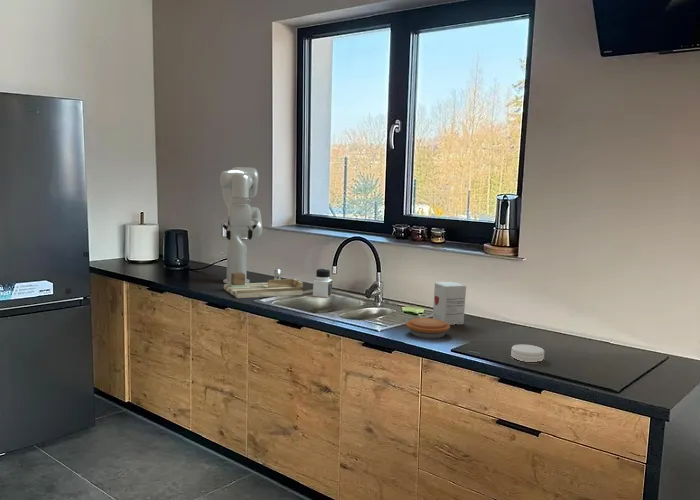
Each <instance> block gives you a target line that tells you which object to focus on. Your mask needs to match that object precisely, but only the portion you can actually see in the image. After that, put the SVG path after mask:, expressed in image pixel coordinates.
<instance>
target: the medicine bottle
mask: <svg viewBox="0 0 700 500" xmlns="http://www.w3.org/2000/svg"><path fill="white" fill-rule="evenodd" d="M315 273H316V276H315V279H314V280H313V282H312V296H313V297H320V298H329V297H331V296H332V294H333V279H332V278H330V277H331V270H330V269H328V268H318V269H316V272H315Z"/></svg>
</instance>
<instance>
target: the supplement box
mask: <svg viewBox="0 0 700 500" xmlns="http://www.w3.org/2000/svg"><path fill="white" fill-rule="evenodd" d="M433 290H434V293H433V310H432V319H438V320H442V321H444V322H445V323H447V324H449V325H450V326H452V325H453V326H455V324H457V325H464V321H465V311H466V310H465V308H466V307H465V306H466V294H467V286H466V285H463V284H461V283H458V282H455V281H436V282H434V289H433Z"/></svg>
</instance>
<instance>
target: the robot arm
mask: <svg viewBox="0 0 700 500" xmlns="http://www.w3.org/2000/svg"><path fill="white" fill-rule="evenodd" d="M219 178H220V179H219V180H220V186H221V188H222V189H221V190H222V191H221V192H222V197H223V201H224V203H225V206H226V207H227V217H225V218H224V219H221V220H220V224H221V226H222V228H223V229H224V230H225V237H226V278H225V279H223V281H222V282H223V283H224V284H228V283H231V273H241V272H242V273H244V274H245V284H247V283H251V282H250V279H248V278H247V273H248V272H247V271H248V269H247V267H248V262H247V261H248V245H247V243H245V241H244V240H243V239H245V238H247V239H248V240H252V239H253V238H255V239H256V238H260V237H261V236H262V233H263V221H262V215H261V213H262V212H261V210H260V208H258V207H257V206H251V205H250V203H252V202H253V200H252V198H254V197H256V196H257V194H258V185H259V173H258V170H257V168H255V167H248V166H246V167H245V166H234V167H233V168H231V169H229V170H223V171H222V172H221V173H220V177H219Z"/></svg>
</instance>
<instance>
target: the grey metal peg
mask: <svg viewBox="0 0 700 500" xmlns="http://www.w3.org/2000/svg"><path fill="white" fill-rule="evenodd" d="M281 271H282V269H280V268H274V269H273V280H279V279H282V278H281V274H282V273H281Z"/></svg>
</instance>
